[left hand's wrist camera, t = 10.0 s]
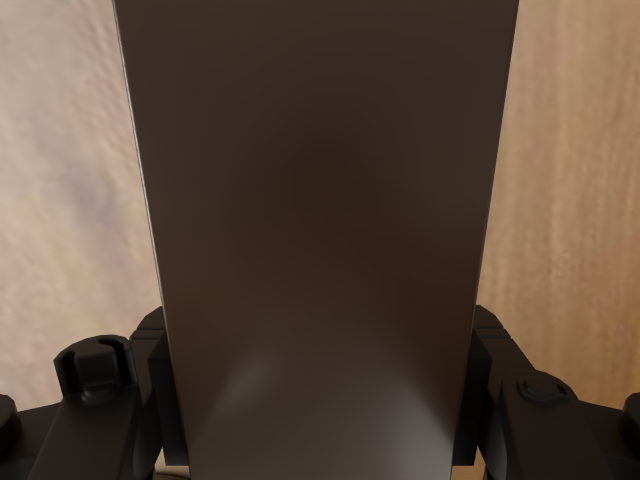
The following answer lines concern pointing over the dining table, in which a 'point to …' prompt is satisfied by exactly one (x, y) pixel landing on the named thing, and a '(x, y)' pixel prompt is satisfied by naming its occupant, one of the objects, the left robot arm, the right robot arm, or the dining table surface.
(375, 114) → the beam
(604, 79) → the dining table surface
